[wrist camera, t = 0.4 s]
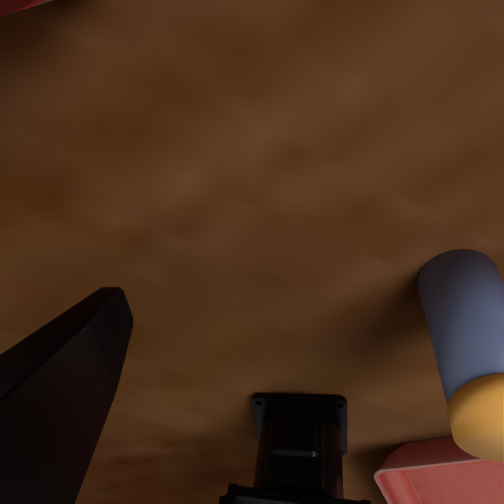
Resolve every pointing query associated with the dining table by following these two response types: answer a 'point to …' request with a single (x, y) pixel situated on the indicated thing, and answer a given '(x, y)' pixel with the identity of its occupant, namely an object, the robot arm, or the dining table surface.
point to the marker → (468, 346)
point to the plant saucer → (439, 475)
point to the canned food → (18, 5)
